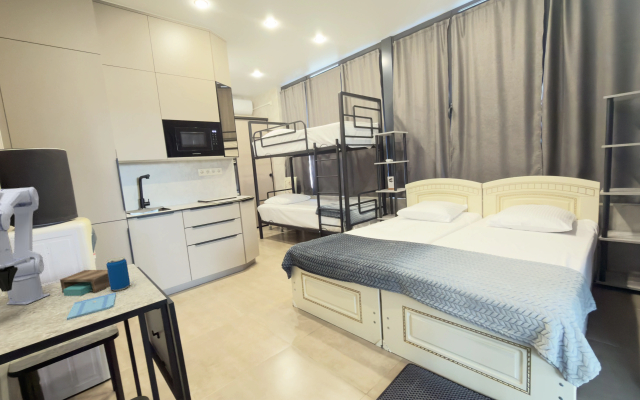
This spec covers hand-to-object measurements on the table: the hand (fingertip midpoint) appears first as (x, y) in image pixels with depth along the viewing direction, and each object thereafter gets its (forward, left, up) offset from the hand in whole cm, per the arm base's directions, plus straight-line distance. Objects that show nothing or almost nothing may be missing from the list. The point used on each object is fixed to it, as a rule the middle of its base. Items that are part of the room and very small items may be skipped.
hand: (6, 290), depth 92 cm
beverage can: (+20, +22, -10) cm, 31 cm away
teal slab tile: (+5, +21, -10) cm, 23 cm away
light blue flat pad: (+23, +8, -10) cm, 26 cm away
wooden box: (+5, +23, -9) cm, 25 cm away
